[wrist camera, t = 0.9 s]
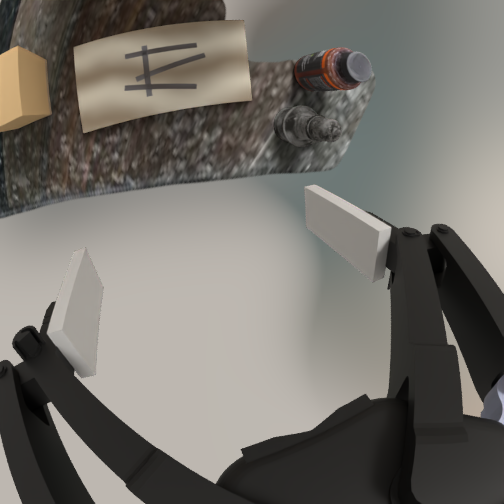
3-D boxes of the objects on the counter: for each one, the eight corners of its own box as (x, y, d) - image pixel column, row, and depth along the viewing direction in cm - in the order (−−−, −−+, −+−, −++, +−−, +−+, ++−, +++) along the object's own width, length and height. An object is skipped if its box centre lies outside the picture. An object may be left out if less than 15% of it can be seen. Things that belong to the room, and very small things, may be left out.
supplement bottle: (323, 96, 38) (374, 97, 28) (289, 86, 35) (336, 81, 26) (329, 62, 35) (380, 55, 26) (295, 50, 33) (343, 36, 24)
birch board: (75, 49, 23) (73, 47, 22) (241, 22, 29) (244, 20, 28) (85, 132, 29) (83, 133, 28) (248, 100, 35) (252, 100, 34)
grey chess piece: (313, 133, 40) (365, 144, 30) (282, 150, 40) (329, 166, 30) (298, 99, 37) (350, 99, 27) (265, 115, 36) (310, 119, 27)
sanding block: (12, 75, 21) (-22, 68, 12) (46, 60, 22) (17, 45, 14) (18, 128, 25) (-17, 135, 16) (52, 114, 26) (22, 115, 18)
